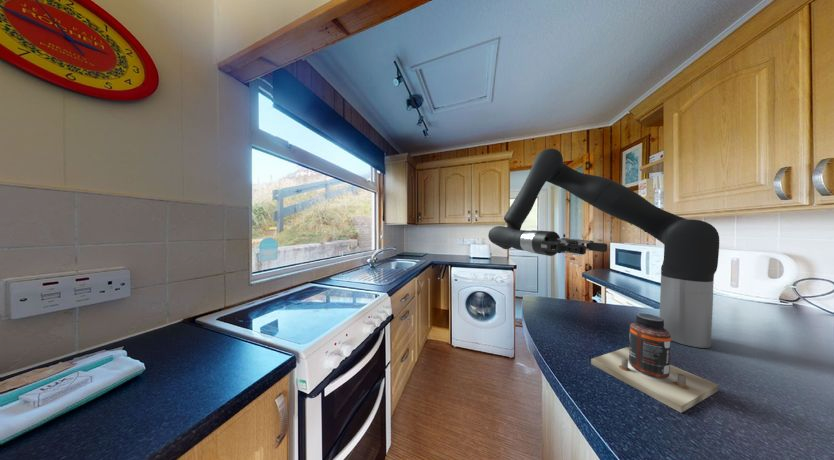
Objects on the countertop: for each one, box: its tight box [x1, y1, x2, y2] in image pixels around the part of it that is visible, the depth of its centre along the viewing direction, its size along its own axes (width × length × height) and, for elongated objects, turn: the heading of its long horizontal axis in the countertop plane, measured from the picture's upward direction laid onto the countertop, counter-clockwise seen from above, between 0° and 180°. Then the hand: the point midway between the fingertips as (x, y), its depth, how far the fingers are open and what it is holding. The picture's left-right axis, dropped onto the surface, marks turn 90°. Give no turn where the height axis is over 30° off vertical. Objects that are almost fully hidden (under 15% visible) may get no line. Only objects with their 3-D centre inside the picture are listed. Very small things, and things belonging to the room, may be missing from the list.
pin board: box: [590, 346, 719, 414], centre depth 47 cm, size 14×14×3 cm
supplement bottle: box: [628, 313, 672, 378], centre depth 46 cm, size 6×6×11 cm
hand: (596, 249), depth 56 cm, fingers open, 8 cm apart
